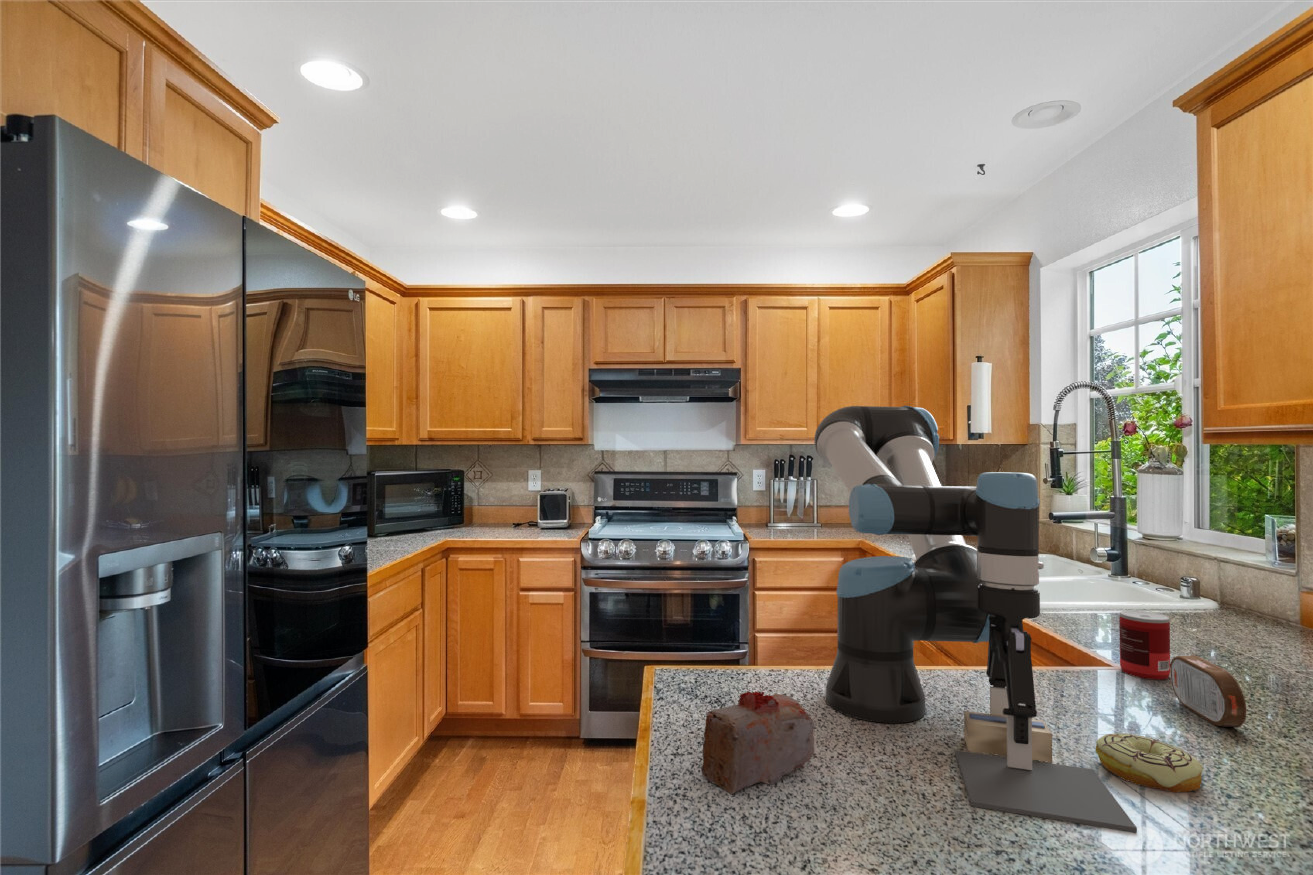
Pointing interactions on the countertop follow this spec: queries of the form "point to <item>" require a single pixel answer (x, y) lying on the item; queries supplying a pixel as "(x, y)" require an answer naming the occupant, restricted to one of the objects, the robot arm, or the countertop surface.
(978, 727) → the card box
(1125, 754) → the decorated donut
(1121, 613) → the canned food
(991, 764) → the mat
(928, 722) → the countertop surface
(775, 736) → the food item
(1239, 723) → the tin
